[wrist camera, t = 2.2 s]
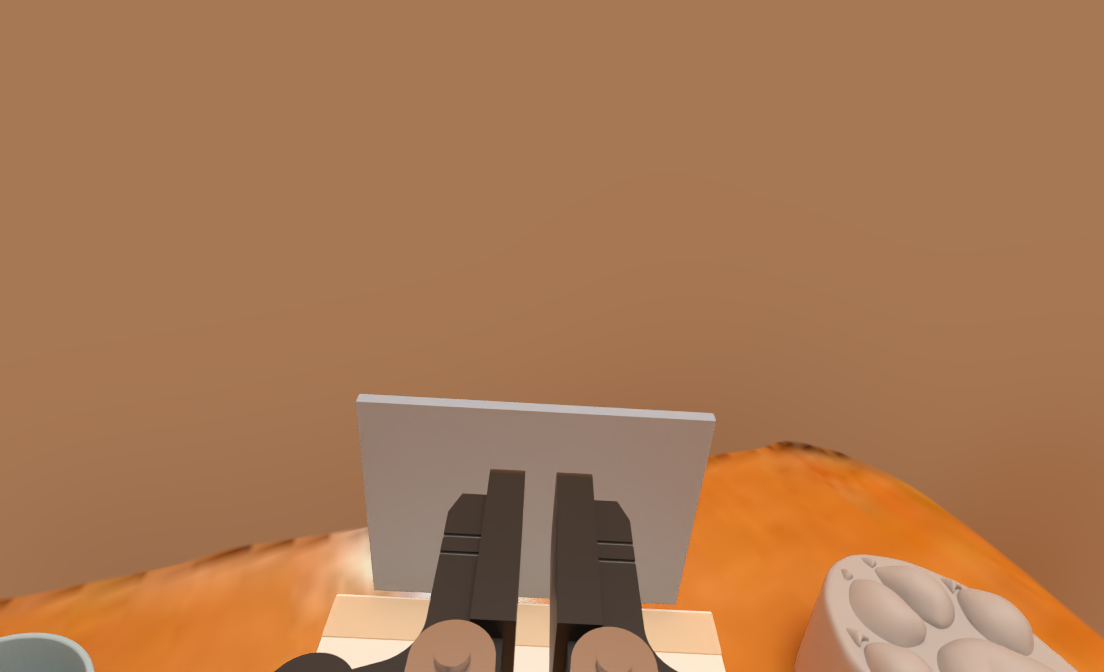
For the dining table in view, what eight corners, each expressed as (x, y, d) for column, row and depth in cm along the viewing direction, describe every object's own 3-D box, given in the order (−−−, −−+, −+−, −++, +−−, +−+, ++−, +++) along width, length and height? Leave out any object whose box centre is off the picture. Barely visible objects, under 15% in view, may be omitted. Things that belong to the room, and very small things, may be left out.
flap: (374, 589, 35) (356, 401, 29) (376, 580, 35) (359, 393, 30) (675, 604, 35) (716, 421, 30) (673, 595, 36) (713, 413, 30)
